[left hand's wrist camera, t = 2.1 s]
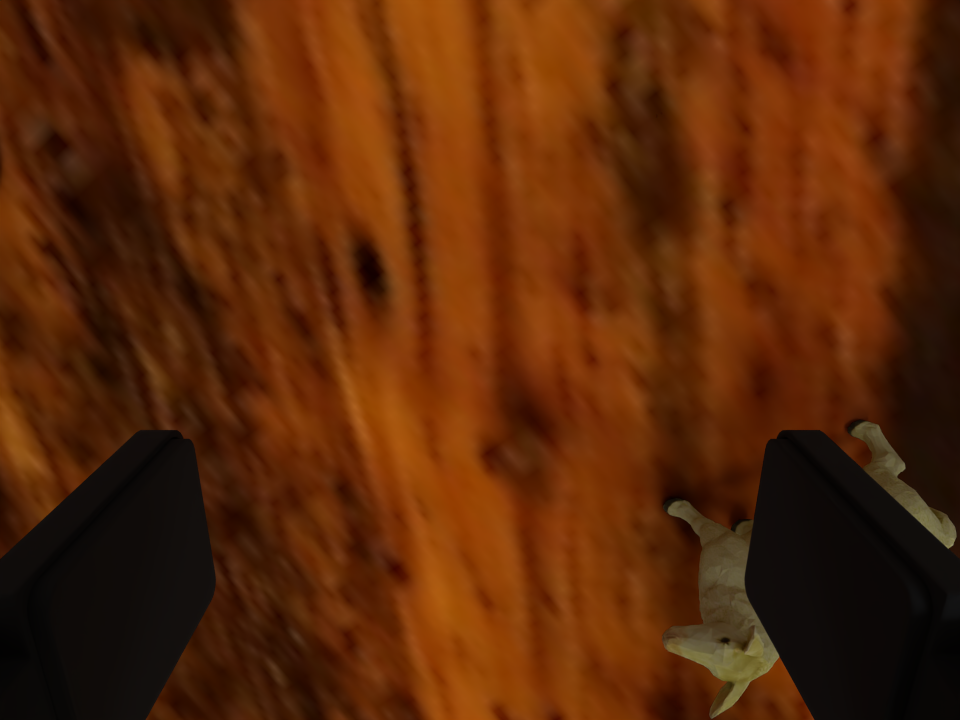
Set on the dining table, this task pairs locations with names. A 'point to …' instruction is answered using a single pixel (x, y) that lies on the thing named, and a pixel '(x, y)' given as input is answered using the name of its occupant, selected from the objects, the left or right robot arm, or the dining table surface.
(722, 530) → the toy
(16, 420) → the dining table surface
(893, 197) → the dining table surface
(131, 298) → the dining table surface
